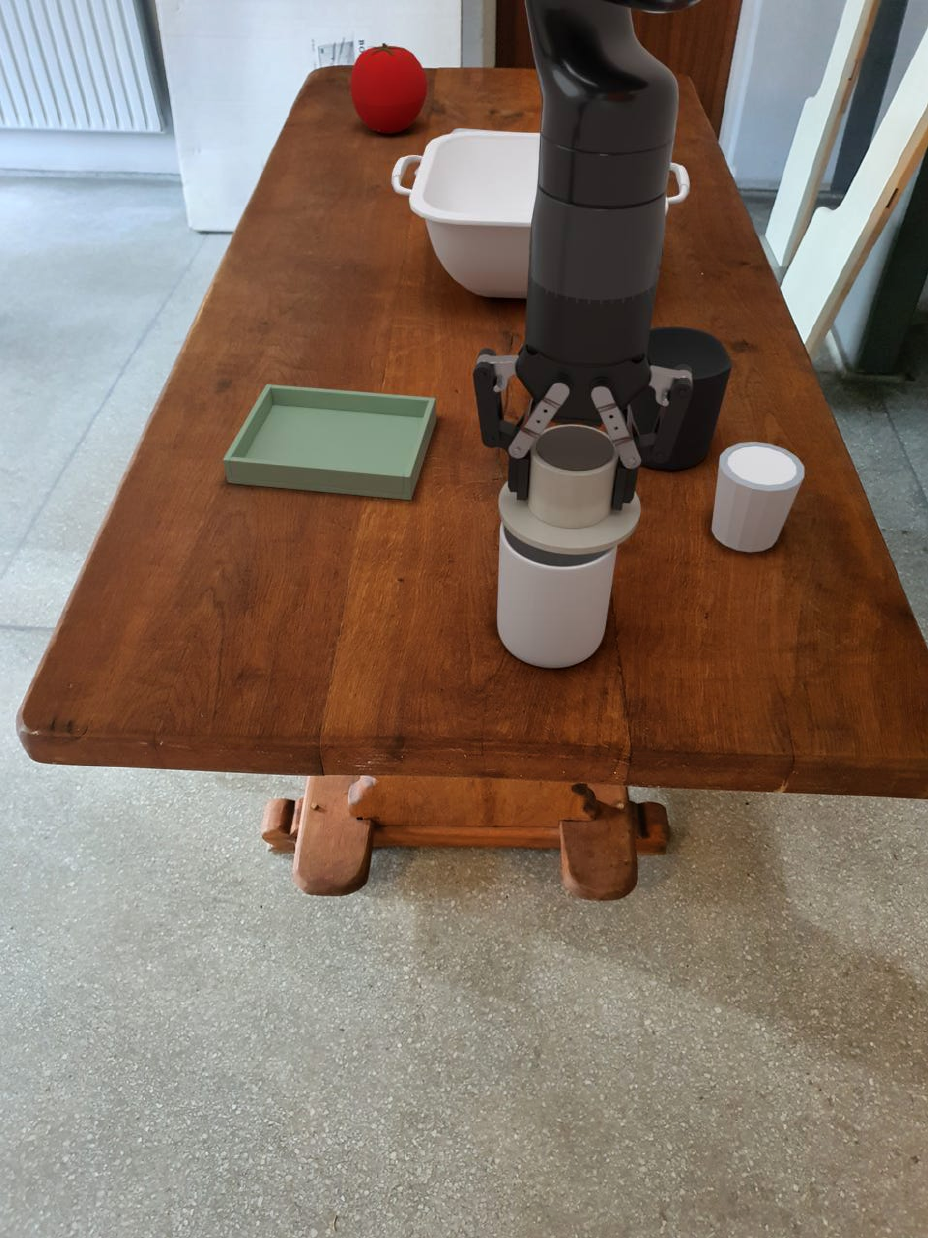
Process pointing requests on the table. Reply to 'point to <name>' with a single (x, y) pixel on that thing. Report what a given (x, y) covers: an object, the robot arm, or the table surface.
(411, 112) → the tomato
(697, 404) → the pen holder
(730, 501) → the white short cylinder
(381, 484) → the tray
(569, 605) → the cup
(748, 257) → the table surface
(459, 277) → the baking dish
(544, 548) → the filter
